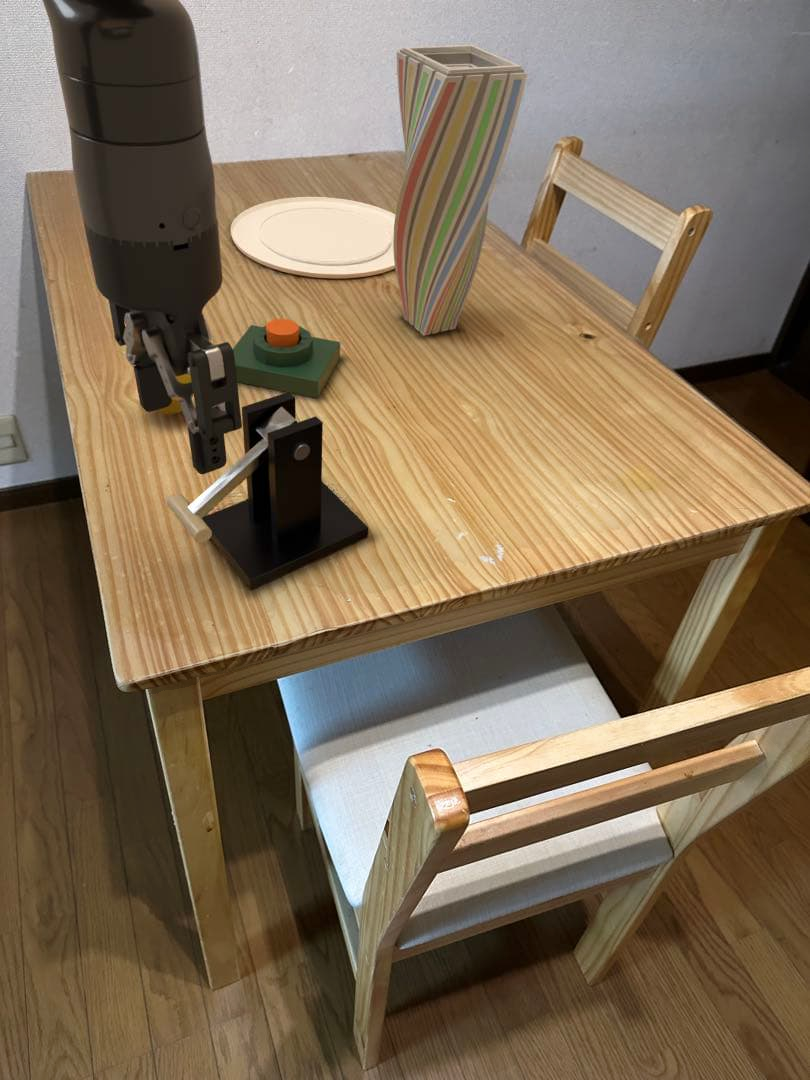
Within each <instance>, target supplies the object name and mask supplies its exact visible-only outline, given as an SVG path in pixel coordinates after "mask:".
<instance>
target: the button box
mask: <svg viewBox="0 0 810 1080" xmlns="http://www.w3.org/2000/svg"><path fill="white" fill-rule="evenodd" d="M298 326H299V343H298V344H297V345H295V346H292V347H276V346H272V345H270V344H268V342H267V335H266V325H264V326H259V325H254V324H250V326H249V327H248V328H247V330H246V331H245V332H244V334H243V335H242V336H241V338H240V339H239V340H238V342H237V343H236V344H235V345H234V347H232V349H233V351H234V357H235V366H236V375H237V383H241V384H245V385H251V386H256V387H261V388H265V389H271V390H275V391H279V392H284V393H287V392H290V393H291V394H295V395H300V396H304V397H305V396H306V397H310V398H315V399H319V397H320V395H321V394H322V391H323V389H324V387H325V386H326V384H327V382H328V381H329V379H330V377H331V375H332V373H333V371H334V369H335V368H336V366H337V364H338V363H339V361H340V359H341V341H338V340H337V341H336V340H332V339H327V338H322V337H315V336H312V334H311V332H310V331H309V330H308V329H306V328H305V327H302V326H300V325H298Z"/></svg>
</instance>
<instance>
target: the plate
mask: <svg viewBox="0 0 810 1080" xmlns="http://www.w3.org/2000/svg"><path fill="white" fill-rule="evenodd" d="M395 216H396V213H393V212H391V211H389V210H386V209H384V208H381V207H378V206H375V205H372V204H369V203H365V202H360V201H356V200H350V199H345V198H337V197H329V196H327V197H326V196H297V197H295V196H294V197H285V198H278V199H273V200H269V201H264V202H262V203H259V204H256V205H253V206H251V207H249V208H246V209H245V210H243V211H241V212H240V213H239V214H237V216H236V217H235V218H234V219H233V221H232V222H231V225H230V231H229V232H230V236H231V238H232V242H233V243H234V245H235V246H236V248H237V249H238V250H239V251H240V252H241V253H242V254H243V255H245V256H246V257H247V258H249V259H251V260H252V261H255V262H256V263H258V264H260V265H263V266H264V267H267V268H270V269H274V270H276V271H280V272H283V273H286V274H287V273H288V274H291V275H296V276H302V277H309V278H319V279H355V278H364V277H371V276H375V275H379V274H384V273H387V272H390V271H392V270H395V263H394V247H393V238H394V223H395Z"/></svg>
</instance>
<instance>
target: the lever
mask: <svg viewBox="0 0 810 1080" xmlns="http://www.w3.org/2000/svg"><path fill="white" fill-rule="evenodd" d="M298 422H299V421H297V419H296V420H295V419H294V418H293V417H292V416H291V415H290V414H289V413H288V412H287V411H286V410H285V409H284V408H283V407H280V408H279V409H278V410H277V411H276V412H275V413H274V414H272V415H271V416H270V417H269V418H268V419H267V420H266V421H265V422H264V423H263V424H261V425H260V426H259V427H258V428H257V429H256V431H257V432H258V433H259V434H260V435H261V437H262V438H263V439H262V440H261V441H260V442H258V443H257V444H256V445H255V446H254V447H253V448H252V449H251V450H250V451H248V452H247V453H246V454H245V453H244V455H243V456H242V457H240V459H239V460H237V461H236V462H235V463H234V464H233V465H232V466H230V468H228V469H227V470H226V471H225V472H224V473H223V474H222V475H220V477H218V478H217V479H216V480H215V481H214V482H213V483H212V484H211V485H209V486H208V488H206V489H205V490H204V491H203V492H202V493H201V494H199V496H197V497H196V498H195V499H194V500H193V501H192V502H191V503H189V501H188V500H187V498H186V497H185V495H183V494H182V493H180V492H175V493H173V494H171V495H170V496H168V498H167V500H166V505H167V507H168V508H169V509H170V511H171V512H172V513H173V515H174V516H175V517H176V518H177V519H178V521H179V522H180V523H181V525H182V526H183V527H184V528H185V530H186V531H187V532H188V534H189V535H190V536H191V537H192V539H193V540H194V541H195V542H196V543H197V544H205V543H207V542H208V541H209V540H210V537H211V535H212V531H211V530H210V528H209V527H208V526H207V525H206V523H205V522H204V521H203V520H202V518H203V517H204V516H207V515H208V514H210V512H211V511H212V510H213V509H214V508H216V506H217V505H218V504H220V503H221V502H222V501H223V500H224V499H225V498H226V497H227V496H228V495H230V494H231V493H232V492H233V491H234V490H235V489H236V488H237V487H238V486H240V485H241V484H242V483H243V482H244V481H245V480H247V477H248V476H249V475H250V474H252V473H253V472H254V471H255V470H256V469H257V468H258V467H259V466H260V465H261V464H263V463H264V462H265V461H266V460H267V459H268V435H267V433H269V432H272V431H275V430H278V429H280V428H283V427H286V426H289V425H292V424H295V423H298Z"/></svg>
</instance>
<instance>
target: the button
mask: <svg viewBox="0 0 810 1080" xmlns="http://www.w3.org/2000/svg"><path fill="white" fill-rule="evenodd" d="M265 326H266V335H267V342H268V344H270V345H272V346H276V347H292V346H295V345H297V344H298V343H299V326H300V325H299V324H298V323H297V322H296V321H294V320H291V319H289V318H275V319H273V320H270V321H268V322H267V323H266V325H265Z"/></svg>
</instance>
